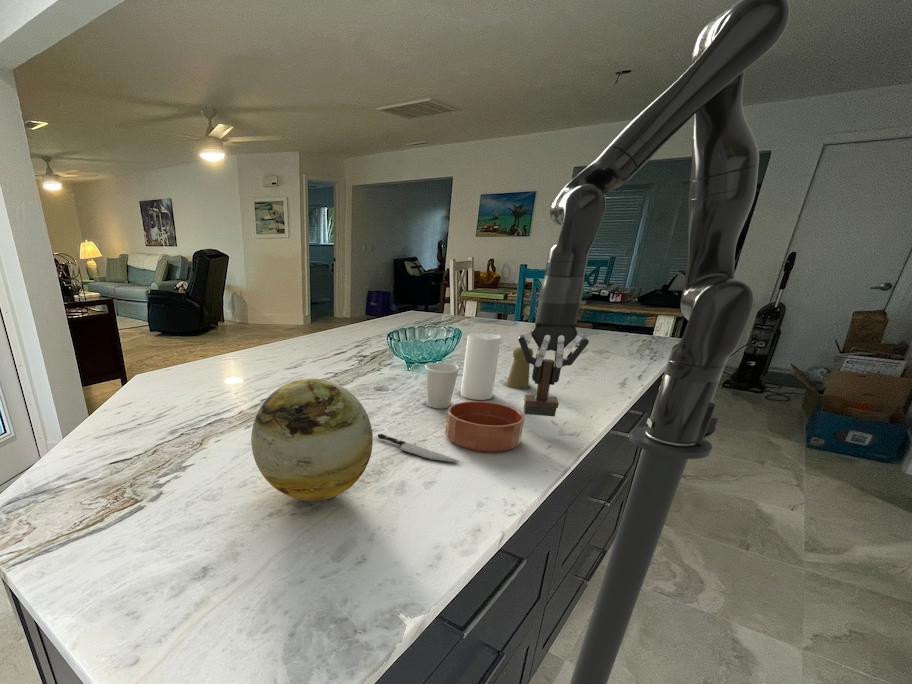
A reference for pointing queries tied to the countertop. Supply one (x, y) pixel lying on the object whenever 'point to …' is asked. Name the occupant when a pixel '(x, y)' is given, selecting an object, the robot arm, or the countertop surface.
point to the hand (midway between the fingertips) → (544, 383)
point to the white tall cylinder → (480, 366)
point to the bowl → (484, 426)
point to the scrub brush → (542, 394)
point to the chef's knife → (418, 450)
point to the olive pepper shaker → (519, 370)
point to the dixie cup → (440, 384)
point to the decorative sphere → (312, 439)
